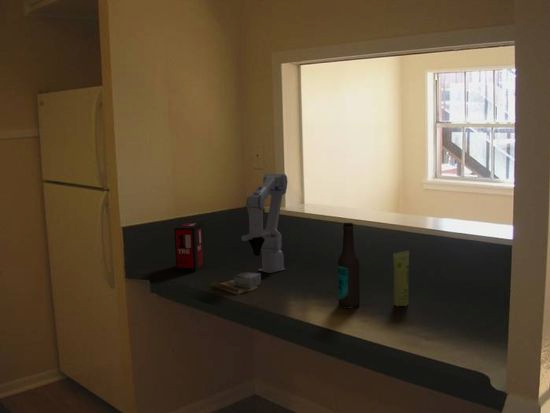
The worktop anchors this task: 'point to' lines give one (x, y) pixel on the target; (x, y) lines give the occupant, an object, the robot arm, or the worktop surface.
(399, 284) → the tube
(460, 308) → the worktop surface
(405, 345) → the worktop surface
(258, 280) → the medicine box
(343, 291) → the beer bottle
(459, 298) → the worktop surface
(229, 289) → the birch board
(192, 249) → the cleaning product box
